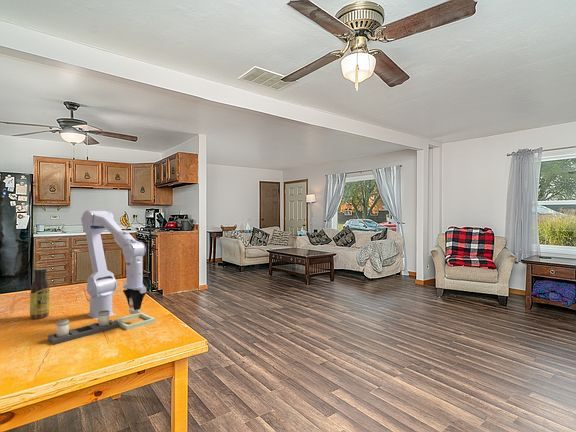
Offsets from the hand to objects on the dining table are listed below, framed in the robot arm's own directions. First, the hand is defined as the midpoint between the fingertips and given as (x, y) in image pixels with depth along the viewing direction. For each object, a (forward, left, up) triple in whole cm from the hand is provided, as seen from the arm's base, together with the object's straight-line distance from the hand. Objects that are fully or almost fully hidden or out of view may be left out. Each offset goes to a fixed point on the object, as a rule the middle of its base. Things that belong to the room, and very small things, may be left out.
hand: (134, 308), depth 125 cm
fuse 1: (-3, -23, -6) cm, 24 cm away
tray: (0, 0, -6) cm, 6 cm away
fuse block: (-3, -17, -6) cm, 18 cm away
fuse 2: (-3, -10, -6) cm, 12 cm away
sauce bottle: (-37, -22, -6) cm, 43 cm away
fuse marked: (0, 0, -2) cm, 2 cm away
